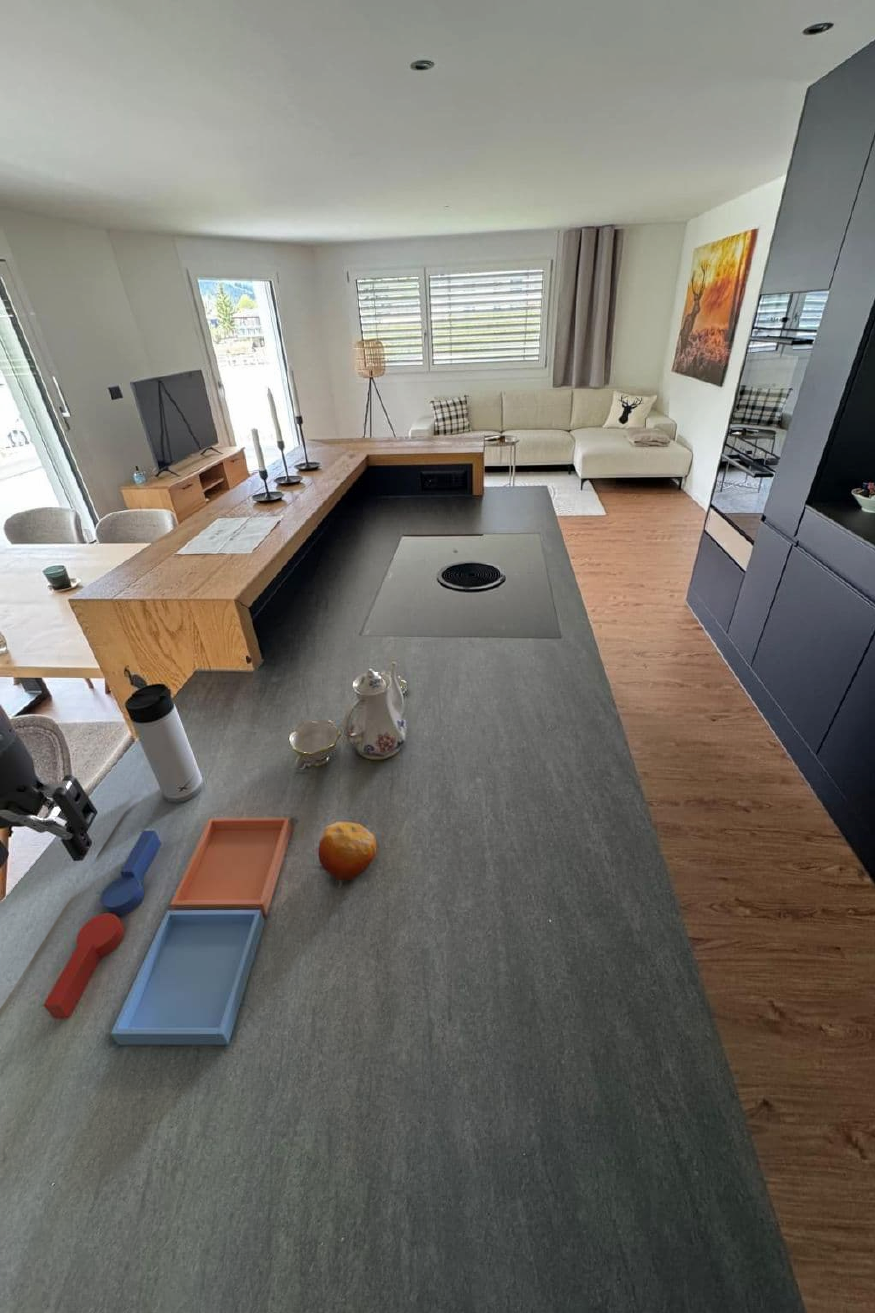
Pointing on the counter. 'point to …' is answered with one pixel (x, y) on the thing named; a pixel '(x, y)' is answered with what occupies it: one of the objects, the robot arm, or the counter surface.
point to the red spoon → (84, 963)
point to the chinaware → (359, 722)
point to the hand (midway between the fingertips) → (42, 858)
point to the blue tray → (191, 979)
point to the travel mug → (164, 742)
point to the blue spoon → (131, 877)
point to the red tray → (234, 865)
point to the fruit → (346, 850)
